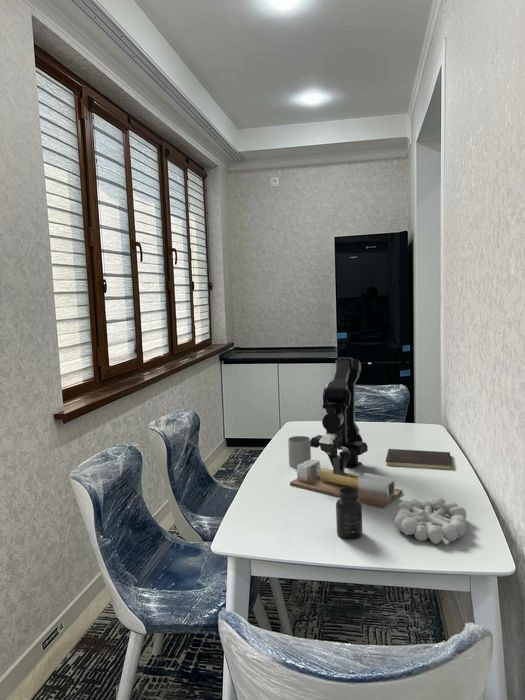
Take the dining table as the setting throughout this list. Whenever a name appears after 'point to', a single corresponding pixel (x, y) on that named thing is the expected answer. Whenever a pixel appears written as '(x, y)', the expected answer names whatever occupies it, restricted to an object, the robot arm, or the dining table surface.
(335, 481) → the brass t-shaped handle
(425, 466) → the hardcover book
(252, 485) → the dining table surface
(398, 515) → the campfire
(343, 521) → the supplement bottle
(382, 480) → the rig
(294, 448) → the cup
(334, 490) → the board
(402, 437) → the dining table surface
